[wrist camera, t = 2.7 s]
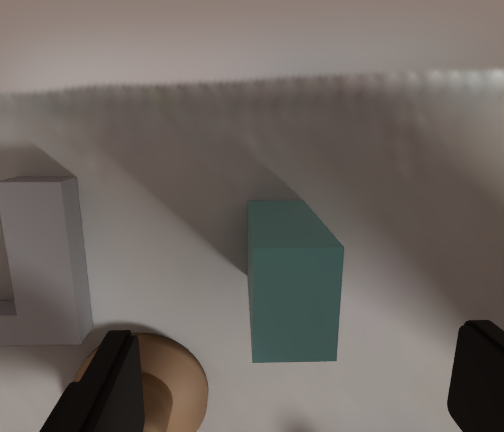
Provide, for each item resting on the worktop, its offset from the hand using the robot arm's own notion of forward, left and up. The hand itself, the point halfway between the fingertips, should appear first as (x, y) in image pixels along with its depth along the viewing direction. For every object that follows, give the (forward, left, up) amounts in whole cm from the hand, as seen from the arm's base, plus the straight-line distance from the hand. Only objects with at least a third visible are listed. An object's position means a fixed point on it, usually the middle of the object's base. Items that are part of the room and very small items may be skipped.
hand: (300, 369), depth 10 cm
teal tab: (-1, 0, -13) cm, 13 cm away
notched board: (+17, +1, -13) cm, 22 cm away
